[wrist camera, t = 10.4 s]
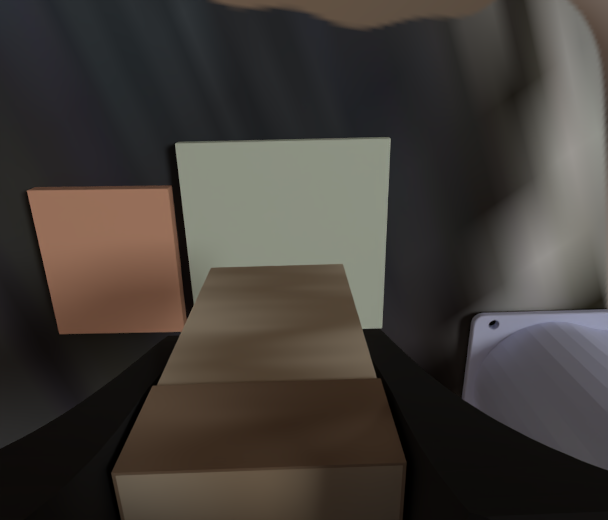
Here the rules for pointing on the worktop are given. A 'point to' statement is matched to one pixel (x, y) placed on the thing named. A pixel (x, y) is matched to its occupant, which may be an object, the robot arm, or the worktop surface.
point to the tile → (110, 258)
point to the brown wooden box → (266, 409)
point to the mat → (289, 209)
